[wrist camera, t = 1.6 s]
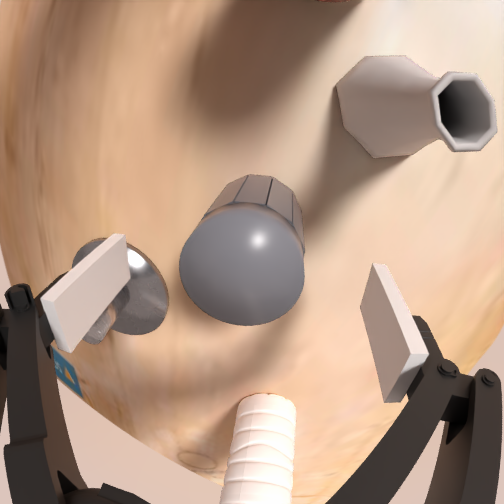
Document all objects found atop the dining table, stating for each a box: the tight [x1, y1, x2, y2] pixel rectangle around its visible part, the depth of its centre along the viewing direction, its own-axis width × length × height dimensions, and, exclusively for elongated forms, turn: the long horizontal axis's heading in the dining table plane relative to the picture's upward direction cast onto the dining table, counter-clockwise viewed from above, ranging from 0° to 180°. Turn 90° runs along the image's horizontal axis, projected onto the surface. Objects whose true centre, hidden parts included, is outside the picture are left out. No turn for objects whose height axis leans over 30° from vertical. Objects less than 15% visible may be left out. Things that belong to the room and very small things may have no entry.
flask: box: [336, 56, 497, 158], centre depth 13 cm, size 7×7×10 cm
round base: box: [72, 238, 169, 344], centre depth 24 cm, size 10×10×6 cm
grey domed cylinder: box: [179, 174, 305, 326], centre depth 18 cm, size 6×6×8 cm
